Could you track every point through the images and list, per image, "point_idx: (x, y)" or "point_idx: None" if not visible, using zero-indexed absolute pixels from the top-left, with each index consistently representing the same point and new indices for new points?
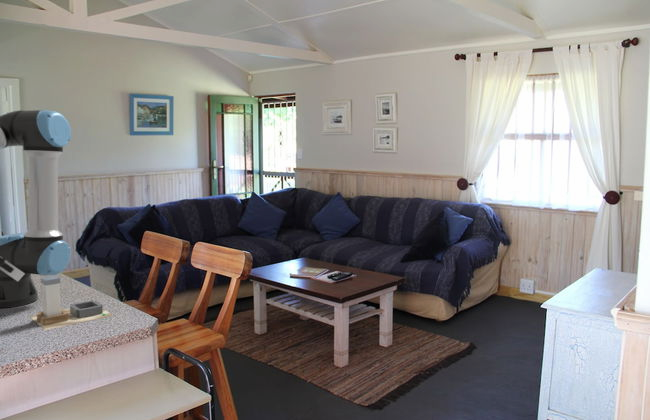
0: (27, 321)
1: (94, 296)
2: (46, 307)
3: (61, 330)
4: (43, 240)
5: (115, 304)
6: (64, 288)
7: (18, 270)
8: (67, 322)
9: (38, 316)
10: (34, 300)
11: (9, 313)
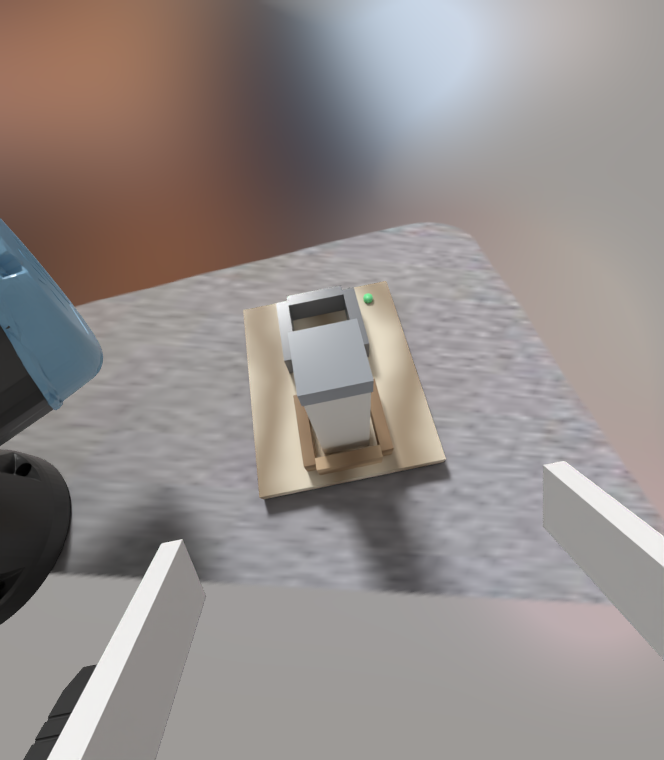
0: (267, 506)
1: (136, 309)
2: (363, 429)
3: None
4: None
5: (249, 273)
6: None
7: (608, 503)
8: (394, 391)
9: (338, 466)
10: (53, 467)
11: (130, 562)
